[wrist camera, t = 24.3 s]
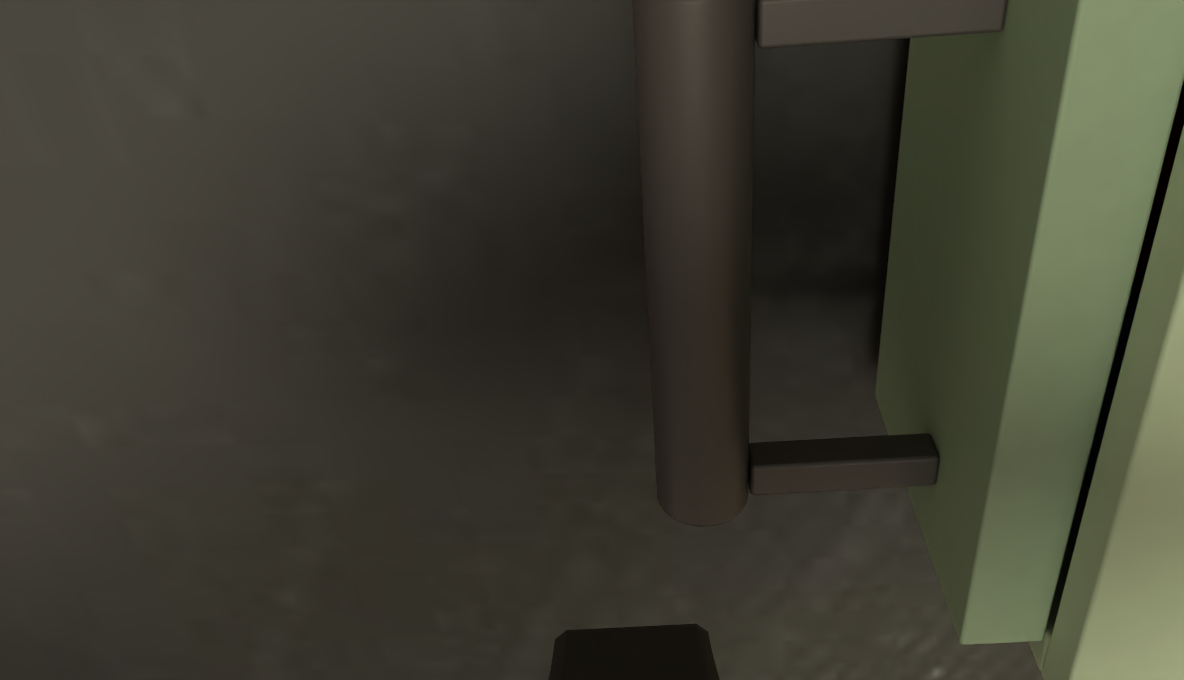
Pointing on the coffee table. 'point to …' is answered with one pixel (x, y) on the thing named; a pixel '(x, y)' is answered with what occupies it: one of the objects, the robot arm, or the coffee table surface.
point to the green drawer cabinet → (1133, 498)
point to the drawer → (921, 267)
